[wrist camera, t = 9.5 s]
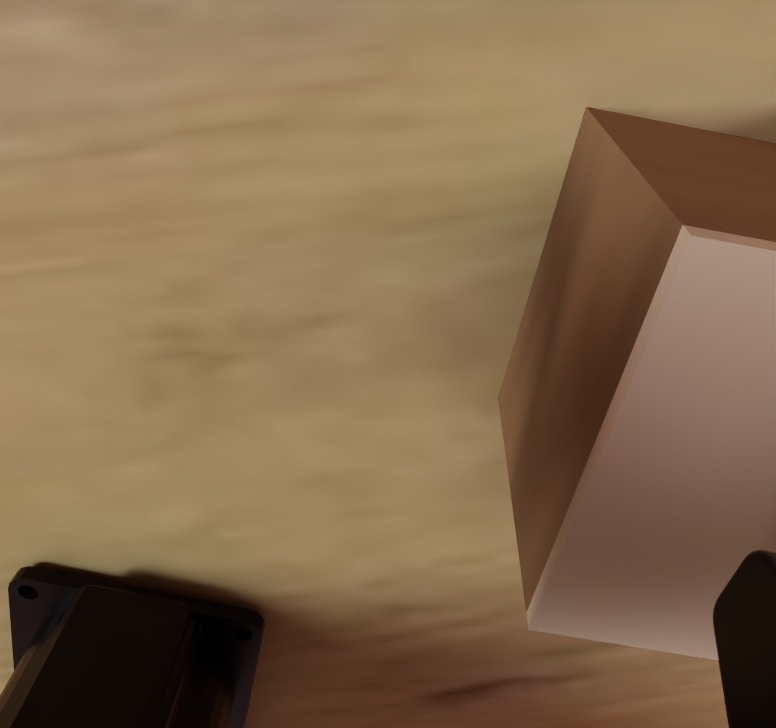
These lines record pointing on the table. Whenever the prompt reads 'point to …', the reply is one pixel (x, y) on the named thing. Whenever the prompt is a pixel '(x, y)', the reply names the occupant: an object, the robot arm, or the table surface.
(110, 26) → the table surface
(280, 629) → the table surface
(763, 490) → the walnut cube
